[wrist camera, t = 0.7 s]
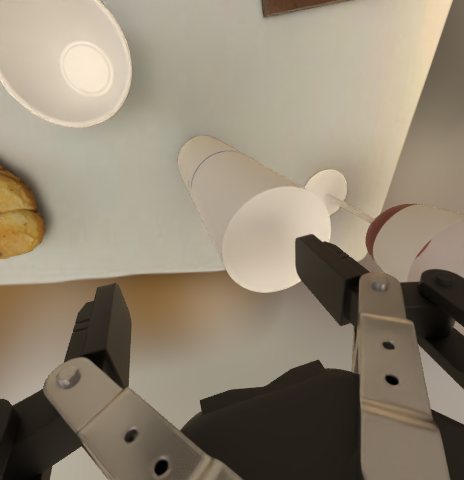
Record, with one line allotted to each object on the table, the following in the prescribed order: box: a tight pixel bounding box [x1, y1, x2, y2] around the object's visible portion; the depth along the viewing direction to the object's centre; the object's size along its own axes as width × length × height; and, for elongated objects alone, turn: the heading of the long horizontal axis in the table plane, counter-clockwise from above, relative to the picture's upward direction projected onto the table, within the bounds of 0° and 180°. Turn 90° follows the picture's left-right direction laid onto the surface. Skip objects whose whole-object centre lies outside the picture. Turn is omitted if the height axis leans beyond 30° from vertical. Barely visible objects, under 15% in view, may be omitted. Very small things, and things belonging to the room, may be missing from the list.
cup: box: [0, 0, 132, 127], centre depth 26 cm, size 10×10×11 cm
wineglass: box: [304, 169, 464, 282], centre depth 37 cm, size 9×10×22 cm
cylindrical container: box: [178, 136, 331, 292], centre depth 28 cm, size 7×7×25 cm
